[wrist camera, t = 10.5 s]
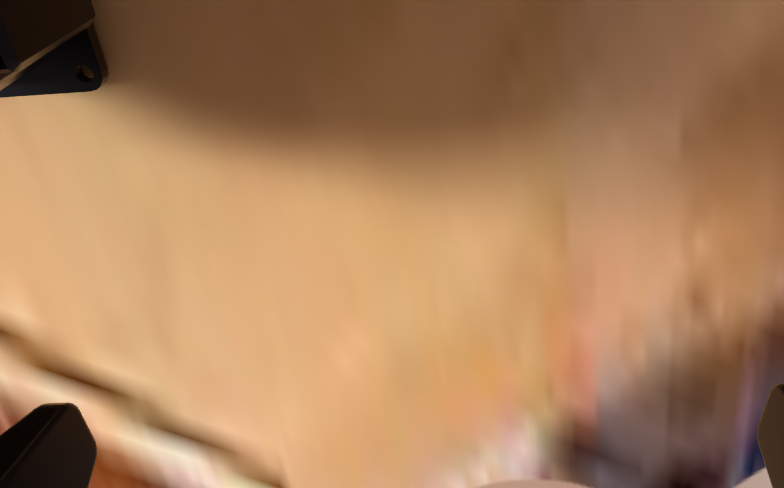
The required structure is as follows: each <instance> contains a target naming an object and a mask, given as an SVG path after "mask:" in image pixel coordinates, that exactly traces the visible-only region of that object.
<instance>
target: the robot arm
mask: <svg viewBox="0 0 784 488" xmlns="http://www.w3.org/2000/svg"><path fill="white" fill-rule="evenodd" d="M94 17H95V12H94V9H93V6H92V3H91V0H0V97H14V96H29V95H43V94H58V93H73V92H88V91H93V90H97V89H98V88H99V87H100V86H101V85H103V84H104V83H105V82H106V81H107V78H108V68H107V65H106V62H105V59H104V56H103V53H102V50H101V47H100V44H99V41H98V38H97V35H96V32H95V29H94V26H93V23H92V21H93V19H94ZM81 65H84V66H87V67H88V68H90V69H91V70H92V72H93V75H94V78H90V77H88V76H86V75H85V74H84V73H83V71H82V67H81ZM757 435H758V443H759V447H760V450H761V453H762V457H763V460H764V463H765V466H766V469H767V472H768V474H769V477H770V481H771V484H772V487H773V488H784V383H780V384H776V385H775V386H774V387H773V388H772V389H771V391H770V394H769V397H768V400H767V402H766V405H765V408H764V411H763V414H762V417H761V420H760V423H759V426H758V432H757ZM96 456H97V447H96V442H95V440H94V438H93V436H92V434H91V432H90V430H89V428H88V426H87V424H86V422H85V420H84V418H83V416H82V414H81V412H80V410H79V409H78V407H77V406H75V405H74V404H72V403H47V404H43V405H40V406H39V407H37V408H36V409H34V410H33V411H32V412H30V413H29V414H28V415H26V416H25V417H24V418H22V419H21V420H20V421H18V422H17V423H16V424H14V425H13V426H12V427H10V428H9V429H8V430H7V431H5V432H4V433H3V434H1V435H0V488H88V487H89V483H90V479H91V476H92V472H93V469H94V465H95V461H96Z"/></svg>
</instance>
